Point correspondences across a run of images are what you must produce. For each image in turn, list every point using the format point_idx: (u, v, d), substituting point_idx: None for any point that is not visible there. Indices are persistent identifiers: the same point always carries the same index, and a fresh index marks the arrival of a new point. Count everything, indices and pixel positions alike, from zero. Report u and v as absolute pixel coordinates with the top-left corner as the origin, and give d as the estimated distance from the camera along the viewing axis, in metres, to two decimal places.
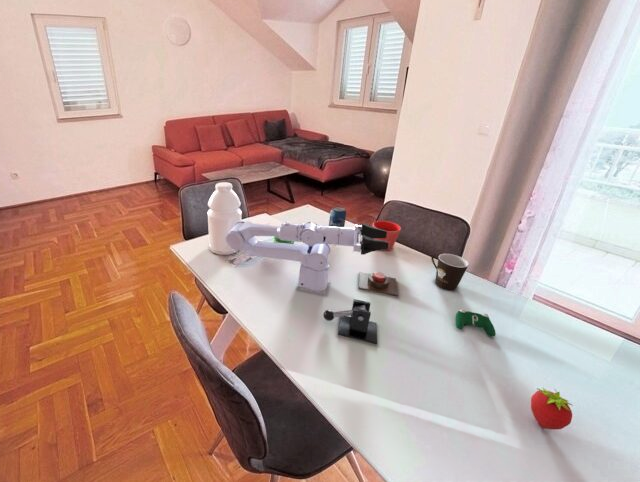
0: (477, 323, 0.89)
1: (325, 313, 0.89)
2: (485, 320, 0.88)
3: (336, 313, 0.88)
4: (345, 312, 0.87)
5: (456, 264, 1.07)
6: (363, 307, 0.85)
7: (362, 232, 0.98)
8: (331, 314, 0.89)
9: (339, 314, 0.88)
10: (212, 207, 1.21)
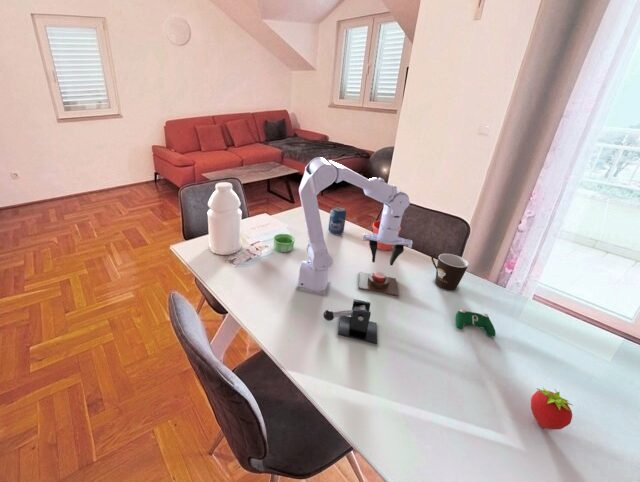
0: (477, 323, 0.89)
1: (325, 313, 0.89)
2: (485, 320, 0.88)
3: (336, 313, 0.88)
4: (345, 312, 0.87)
5: (456, 264, 1.07)
6: (363, 307, 0.85)
7: None
8: (331, 314, 0.89)
9: (339, 314, 0.88)
10: (212, 207, 1.21)
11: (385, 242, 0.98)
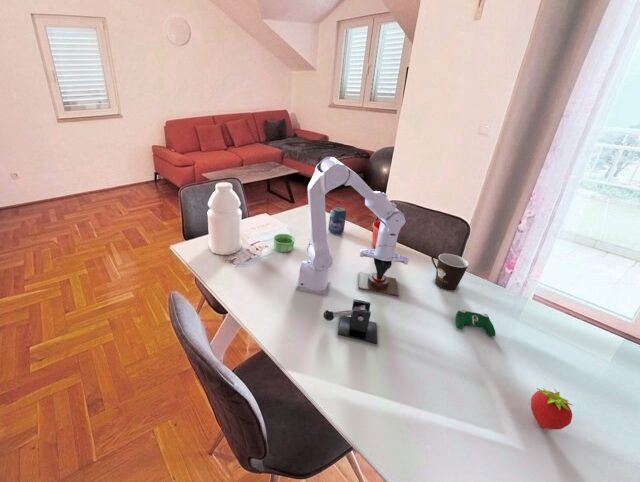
0: (477, 323, 0.89)
1: (325, 313, 0.89)
2: (485, 320, 0.88)
3: (336, 313, 0.88)
4: (345, 312, 0.87)
5: (456, 264, 1.07)
6: (363, 307, 0.85)
7: (381, 259, 1.04)
8: (331, 314, 0.89)
9: (339, 314, 0.88)
10: (212, 207, 1.21)
11: (382, 259, 1.01)
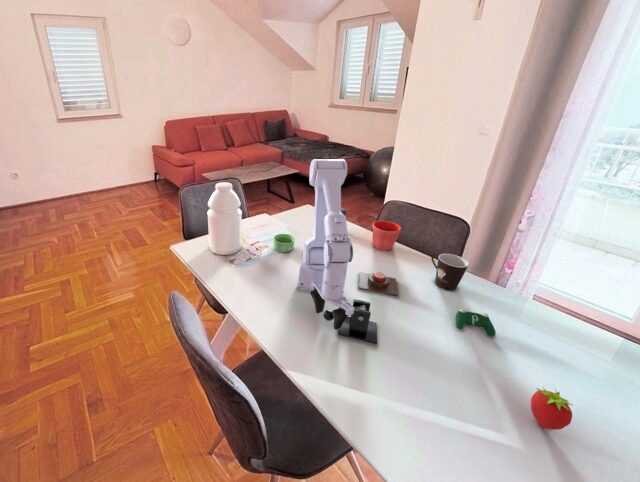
0: (477, 323, 0.89)
1: (325, 313, 0.89)
2: (485, 320, 0.88)
3: None
4: None
5: (456, 264, 1.07)
6: (363, 307, 0.85)
7: None
8: (331, 314, 0.89)
9: None
10: (212, 207, 1.21)
11: (322, 296, 0.86)
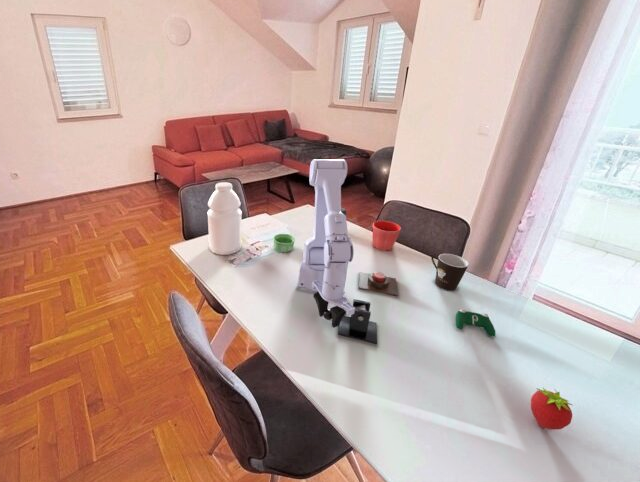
0: (477, 323, 0.89)
1: (325, 312, 0.89)
2: (485, 320, 0.88)
3: None
4: None
5: (456, 264, 1.07)
6: (363, 307, 0.85)
7: None
8: (331, 313, 0.88)
9: None
10: (212, 207, 1.21)
11: (322, 296, 0.86)
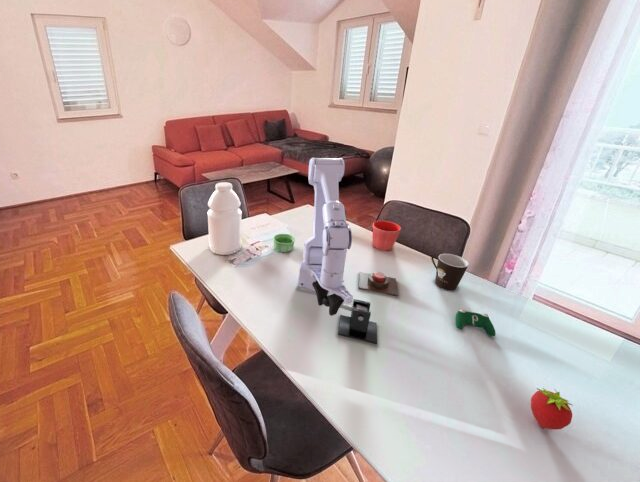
0: (477, 323, 0.89)
1: (326, 298, 0.87)
2: (485, 320, 0.88)
3: None
4: (346, 306, 0.86)
5: (456, 264, 1.07)
6: (366, 309, 0.85)
7: None
8: None
9: None
10: (212, 207, 1.21)
11: (320, 284, 0.85)
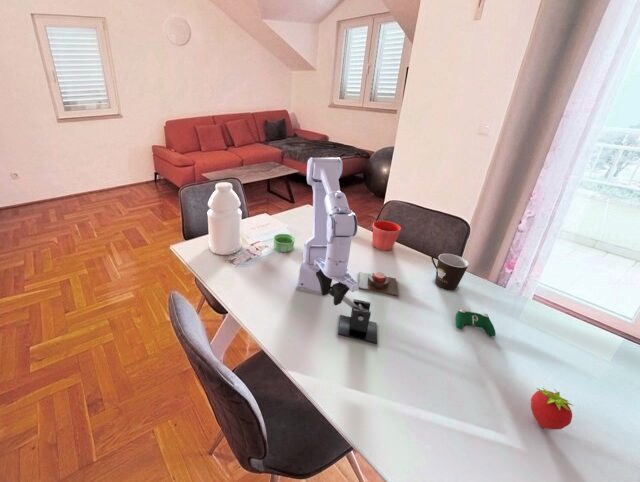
0: (477, 323, 0.89)
1: None
2: (485, 320, 0.88)
3: None
4: (349, 301, 0.85)
5: (456, 264, 1.07)
6: None
7: None
8: None
9: (344, 299, 0.85)
10: (212, 207, 1.21)
11: (325, 273, 0.83)
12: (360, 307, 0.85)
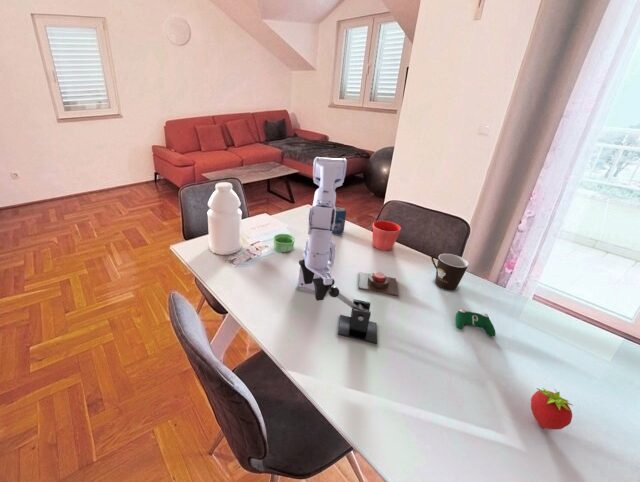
0: (477, 323, 0.89)
1: (334, 289, 0.85)
2: (485, 320, 0.88)
3: (341, 296, 0.86)
4: (349, 302, 0.86)
5: (456, 264, 1.07)
6: None
7: None
8: (338, 294, 0.85)
9: (343, 299, 0.86)
10: (212, 207, 1.21)
11: (305, 264, 0.85)
12: (360, 307, 0.85)
